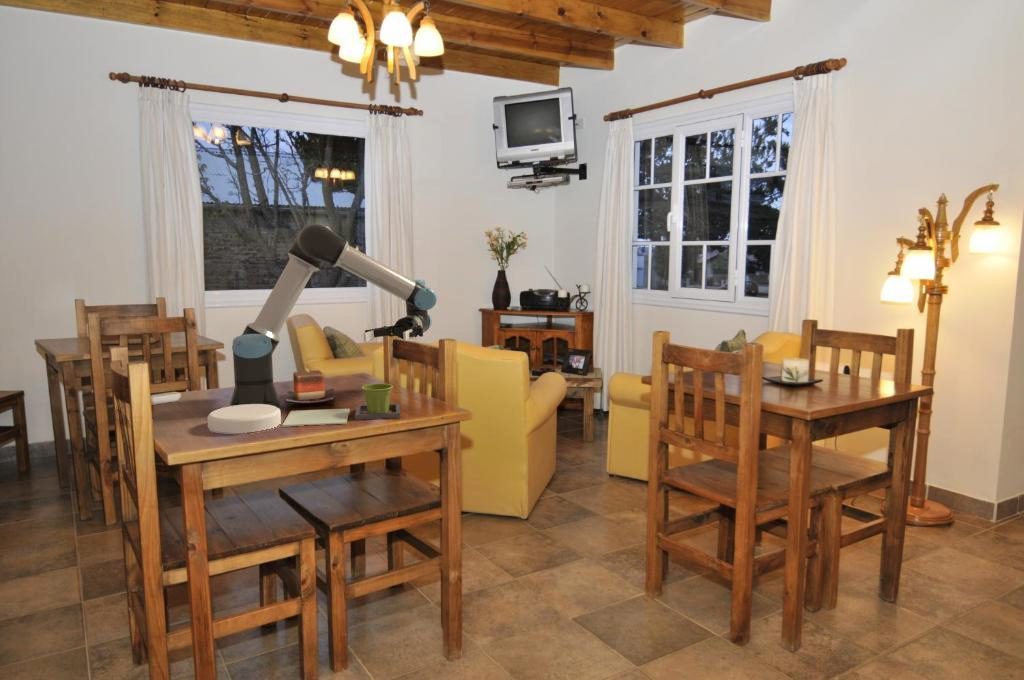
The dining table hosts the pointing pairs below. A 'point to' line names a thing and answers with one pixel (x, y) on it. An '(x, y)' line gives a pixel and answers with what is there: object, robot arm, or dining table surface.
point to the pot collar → (377, 415)
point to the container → (244, 418)
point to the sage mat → (316, 417)
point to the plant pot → (377, 397)
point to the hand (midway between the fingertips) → (384, 337)
